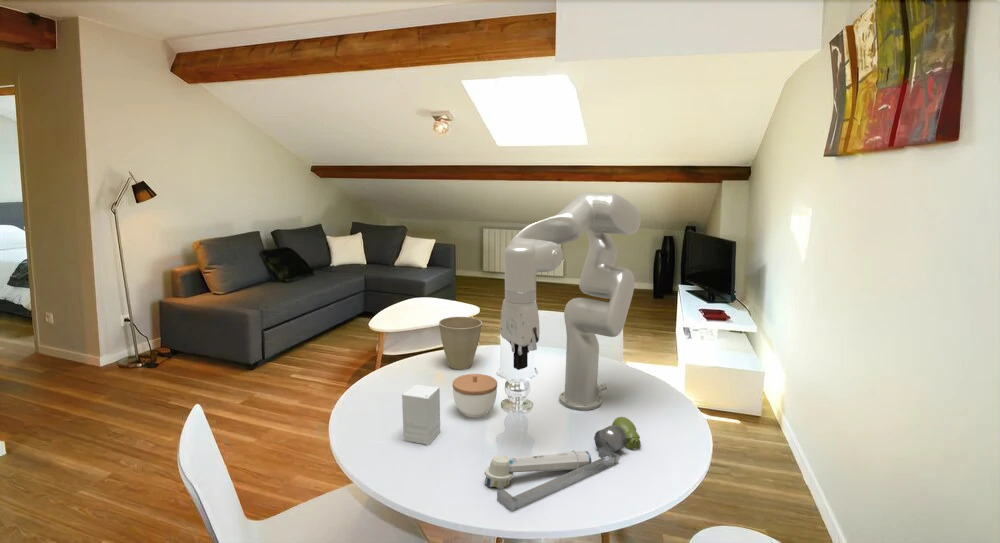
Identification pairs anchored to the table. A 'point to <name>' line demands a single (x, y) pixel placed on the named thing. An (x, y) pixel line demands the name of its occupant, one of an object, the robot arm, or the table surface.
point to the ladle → (605, 443)
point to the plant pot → (460, 340)
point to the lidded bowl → (474, 394)
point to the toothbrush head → (532, 465)
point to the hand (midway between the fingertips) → (520, 367)
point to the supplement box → (421, 414)
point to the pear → (628, 432)
